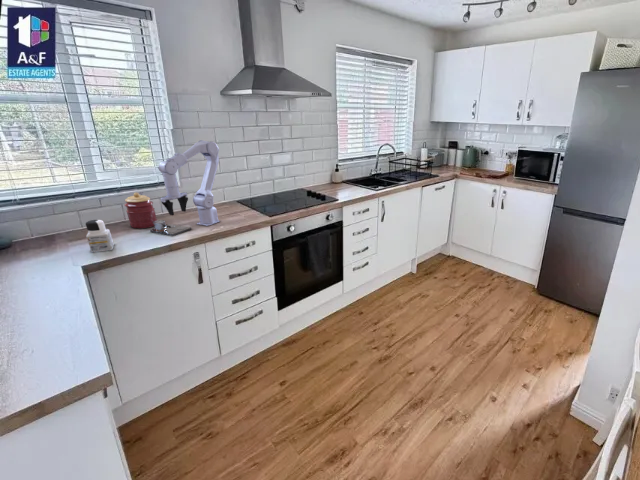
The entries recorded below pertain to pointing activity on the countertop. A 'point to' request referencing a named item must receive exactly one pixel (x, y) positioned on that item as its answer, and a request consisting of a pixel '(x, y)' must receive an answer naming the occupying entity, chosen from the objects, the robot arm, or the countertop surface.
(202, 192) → the robot arm
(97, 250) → the container
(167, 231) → the dark grey flat slab
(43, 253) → the countertop surface
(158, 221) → the wok
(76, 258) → the countertop surface
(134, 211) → the kitchen canister
